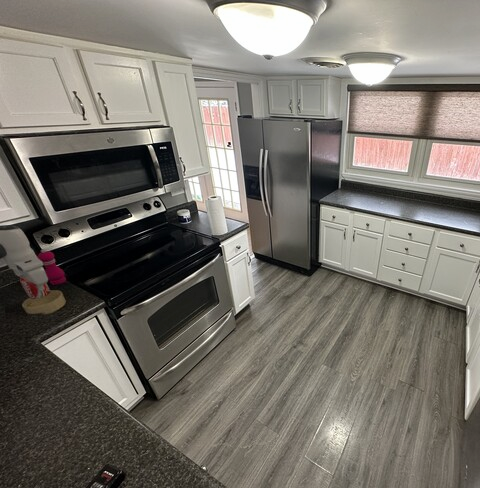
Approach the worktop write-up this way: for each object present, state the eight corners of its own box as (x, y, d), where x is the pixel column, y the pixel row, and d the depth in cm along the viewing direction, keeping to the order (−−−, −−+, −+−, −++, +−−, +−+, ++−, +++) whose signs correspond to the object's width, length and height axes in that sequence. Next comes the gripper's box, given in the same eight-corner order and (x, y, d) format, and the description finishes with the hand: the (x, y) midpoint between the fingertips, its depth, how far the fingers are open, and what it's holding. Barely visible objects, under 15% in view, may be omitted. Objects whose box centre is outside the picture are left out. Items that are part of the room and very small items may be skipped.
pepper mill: (65, 276, 148) (49, 245, 139) (69, 281, 145) (53, 249, 136) (47, 282, 143) (30, 249, 134) (51, 287, 139) (34, 254, 130)
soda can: (49, 297, 121) (38, 275, 115) (28, 302, 117) (15, 280, 112) (52, 289, 126) (41, 268, 121) (32, 294, 122) (19, 272, 117)
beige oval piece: (36, 321, 117) (31, 311, 114) (21, 312, 121) (16, 302, 119) (72, 304, 128) (68, 294, 125) (57, 296, 132) (52, 287, 130)
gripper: (0, 258, 115) (15, 285, 121) (24, 269, 107) (39, 297, 113) (20, 252, 120) (34, 278, 126) (44, 262, 113) (57, 289, 119)
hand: (36, 287), depth 120 cm, fingers closed on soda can, 7 cm apart
